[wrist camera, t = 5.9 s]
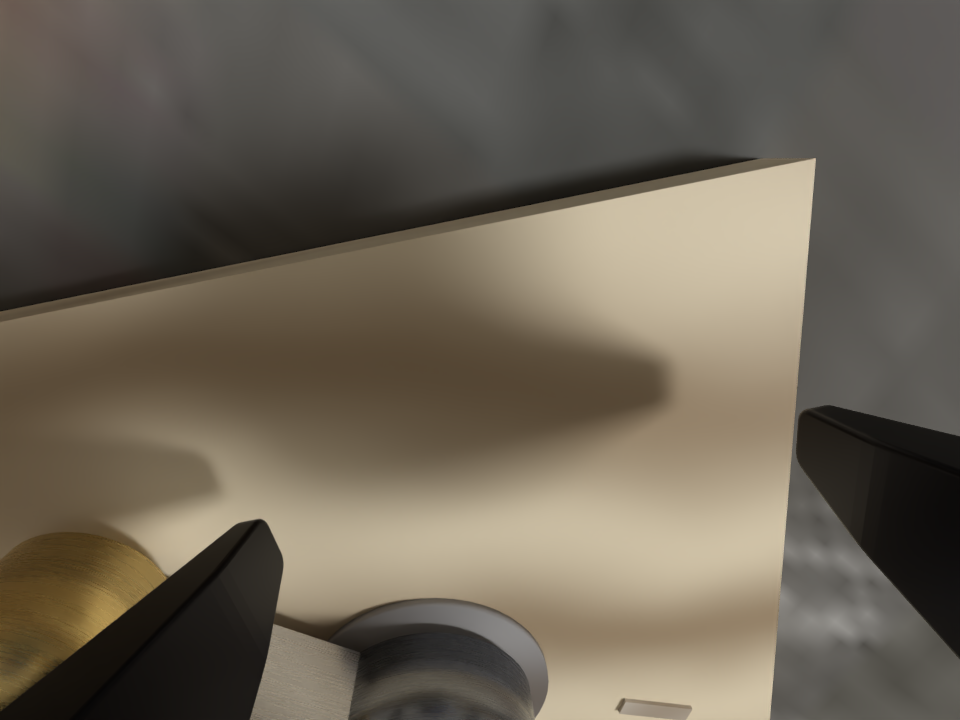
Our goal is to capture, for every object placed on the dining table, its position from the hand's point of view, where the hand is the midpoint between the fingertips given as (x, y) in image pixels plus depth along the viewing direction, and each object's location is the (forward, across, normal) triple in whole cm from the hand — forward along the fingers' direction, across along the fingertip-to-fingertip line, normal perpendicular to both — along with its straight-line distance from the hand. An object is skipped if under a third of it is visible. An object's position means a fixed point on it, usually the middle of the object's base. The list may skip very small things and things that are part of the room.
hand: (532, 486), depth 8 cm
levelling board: (+3, +3, +6) cm, 8 cm away
